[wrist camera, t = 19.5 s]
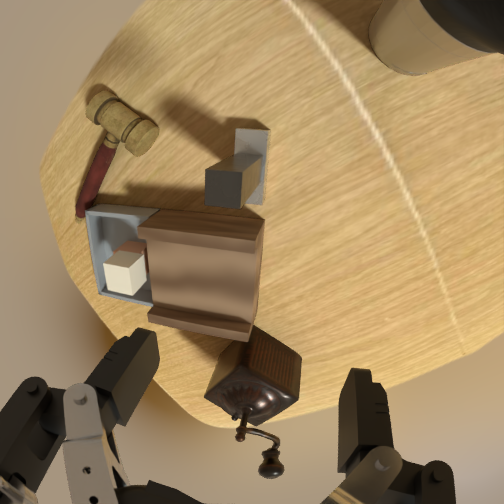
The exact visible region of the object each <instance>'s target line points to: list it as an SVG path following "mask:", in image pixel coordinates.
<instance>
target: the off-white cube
mask: <svg viewBox="0 0 504 504" xmlns="http://www.w3.org/2000/svg"><path fill="white" fill-rule="evenodd" d="M103 266H104V272H105V278H106V283H107V288H108V290H110V291H114V292H118V293H123V294H127V295H132V296H133V295H134V294H135V293H136V292H137V291H138V290H139V288H140V287H141V286H142V285H143V284H144V283H145V282H146V281H147V279H146V270H145V261H144V254H139V253H133V252H127V251H121V250H119V251H117V252H116V253H115V254H114V255H112V256H111V257H110V258H109V259H108V260H106V261H105V262H104V263H103Z"/></svg>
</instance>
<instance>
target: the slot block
mask: <svg viewBox="0 0 504 504" xmlns="http://www.w3.org/2000/svg"><path fill="white" fill-rule="evenodd" d="M264 224H265V220H262V219H254V218H245V217H236V216H227V215H218V214H209V213H199V212H190V211H180V210H169V209H161V210H160V211H159V212H157V213H156V214H154V215H153V216H151V217H150V218H148V219H147V220H146V221H144V222H143V223H141V224H140V225H139V226H137V231H138V238H139V239H146V241H147V252H148V263H149V273H150V282H151V291H152V299H153V307H152V308H151V309H150V310H149V312H148V313H147V315H148V321H149V322H150V323H155V324H159V325H163V326H168V327H172V328H177V329H181V330H186V331H191V332H196V333H201V334H206V335H211V336H216V337H221V338H227V339H232V340H238V341H244V342H248V341H249V337H250V334H251V330H252V327H253V324H254V320H255V317H256V314H257V307H258V296H259V284H260V272H261V260H262V248H263V236H264Z"/></svg>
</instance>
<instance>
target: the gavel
mask: <svg viewBox="0 0 504 504" xmlns="http://www.w3.org/2000/svg"><path fill="white" fill-rule="evenodd" d="M86 117H87V118H88V119H89V120H91V121H92V122H93V123H94V124H96V125H100V124H101V126H102V127H103V128H105V129H106V130H107V131H108V133H107V135H106V137H105V139H104V141H103V143H102V144H101V146H100V147H99V149H98V151H97V153H96V156H95V158H94V160H93V163H92V165H91V167H90V170H89V172H88V175H87V177H86V180H85V182H84V185H83V187H82V190H81V193H80V195H79V198H78V201H77V204H76V223H78V224H79V223H80V222H81V220H82V219H84V217H85V216H86V214H85V210H87V209H89V208H91V207H92V205H93V202H94V200H95V197H96V195H97V193H98V190H99V188H100V186H101V184H102V181H103V179H104V177H105V175H106V172H107V170H108V168H109V166H110V164H111V162H112V160H113V158H114V155H115V153H116V149H117V146H118V144H119V142H120V141H121V142H122V143H125V148H126V149H127V150H128V151H130V152H131V153H132V154H133V155H135V156H136V157H138V156H141V155H143V154H145V153H146V152H147V151H148V150H149V149H150V148H151V147H152V145H153V144H154V142H155V140H156V139H157V137H158V135H159V127H157V126H156V125H154V124H153V123H152V122H150V121H149V120H144V121H143V120H142V118H141V117H140V116H138V115H137V114H136V113H134V112H133V111H131V110H130V109H129V108H127V107H126V106H125V105H123V104H122V103H120V102H119V100H118V98H117V97H116V96H115V95H114V94H112V93H111V92H109V91H108V90H104V91H101V92H99V93H98V94H96V95H95V96H94V97H93V98H92V99H91V101H90V102H89V104H88V106H87V108H86Z"/></svg>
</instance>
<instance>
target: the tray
mask: <svg viewBox="0 0 504 504" xmlns="http://www.w3.org/2000/svg"><path fill="white" fill-rule="evenodd" d="M159 211H160V209H159V208H148V207H136V206H125V205H112V204H97V205H95V206H93V207H91V208H89V209H87V210H85V214H86V222H87V230H88V237H89V244H90V250H91V256H92V262H93V267H94V273H95V278H96V283H97V288H98V292H99V294H100V295H104V296H108V297H112V298H116V299H120V300H125V301H129V302H133V303H137V304H142V305H146V306H151V307H153V299H152V291H151V282H150V273H148V274H147V275H146V279H147V281H146V282H145V283H144V284H143V285H142V286H141V287H140V288H139V290H138V291H137V292H136V293H135V294H134V295H133V296H132V295H127V294H123V293H118V292H114V291H110V290H108V288H107V283H106V278H105V272H104V266H103V263H104V262H105V261H106V260H108V259H109V258H110V257H111V256H112V255H113V251H114V250H116V249H117V248H118V247H120V246H121V245H122V244H123V243H125V242H126V241H127V240H128V241H135V242H142V243H147V241H146V239H139V238H138V231H137V226H139V225H140V224H141V223H143V222H144V221H146V220H147V219H148V218H150V217H151V216H153V215H154V214H156V213H157V212H159Z"/></svg>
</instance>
